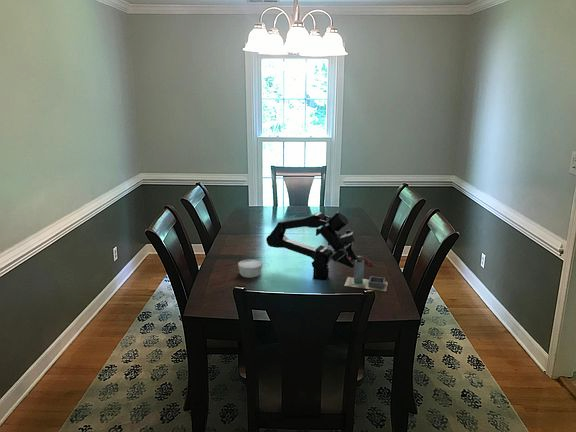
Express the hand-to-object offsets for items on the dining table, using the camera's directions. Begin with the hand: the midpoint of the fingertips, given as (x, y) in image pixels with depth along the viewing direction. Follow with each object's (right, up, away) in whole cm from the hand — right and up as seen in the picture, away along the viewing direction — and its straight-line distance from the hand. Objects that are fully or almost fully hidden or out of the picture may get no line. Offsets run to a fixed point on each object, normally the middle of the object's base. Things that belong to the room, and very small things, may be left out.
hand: (354, 263), depth 202 cm
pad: (+2, -9, +2) cm, 9 cm away
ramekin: (-47, -6, +10) cm, 49 cm away
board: (+5, -9, +1) cm, 11 cm away
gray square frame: (+9, -9, 0) cm, 13 cm away
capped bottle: (+2, -8, +2) cm, 9 cm away
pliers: (+5, -2, +30) cm, 31 cm away
